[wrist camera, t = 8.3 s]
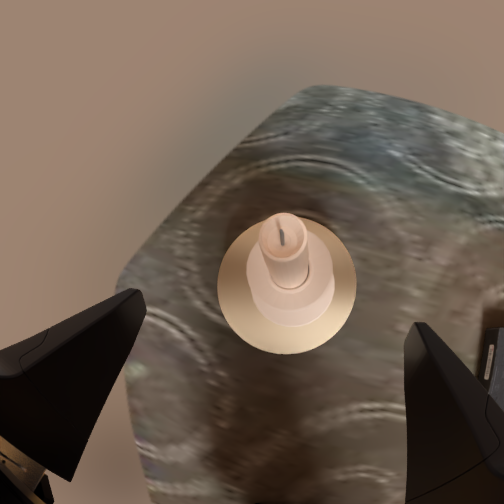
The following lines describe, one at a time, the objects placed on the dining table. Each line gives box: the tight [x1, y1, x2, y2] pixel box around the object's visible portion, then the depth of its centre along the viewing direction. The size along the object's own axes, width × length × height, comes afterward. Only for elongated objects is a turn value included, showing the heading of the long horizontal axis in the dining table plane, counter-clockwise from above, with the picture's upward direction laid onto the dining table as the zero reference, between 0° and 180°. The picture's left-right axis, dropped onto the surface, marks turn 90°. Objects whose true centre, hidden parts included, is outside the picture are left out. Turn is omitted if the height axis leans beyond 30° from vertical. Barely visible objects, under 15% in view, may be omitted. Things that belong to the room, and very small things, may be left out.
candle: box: [246, 213, 335, 327], centre depth 12 cm, size 5×5×10 cm
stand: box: [217, 217, 356, 354], centre depth 19 cm, size 9×9×3 cm
